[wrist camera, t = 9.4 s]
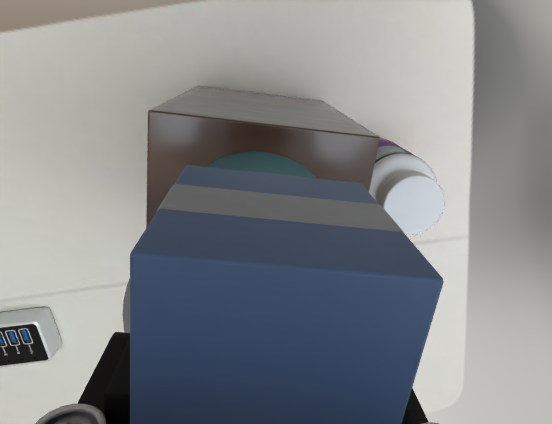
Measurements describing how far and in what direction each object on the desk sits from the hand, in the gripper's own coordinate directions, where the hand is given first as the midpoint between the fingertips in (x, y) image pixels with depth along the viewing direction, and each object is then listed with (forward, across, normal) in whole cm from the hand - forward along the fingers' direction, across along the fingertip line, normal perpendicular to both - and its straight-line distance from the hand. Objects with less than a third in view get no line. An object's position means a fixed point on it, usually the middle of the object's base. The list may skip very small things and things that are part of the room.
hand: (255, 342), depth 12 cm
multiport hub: (+24, +24, +20) cm, 39 cm away
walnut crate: (+24, 0, 0) cm, 24 cm away
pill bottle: (+24, -10, 0) cm, 26 cm away
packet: (0, 0, 0) cm, 0 cm away
